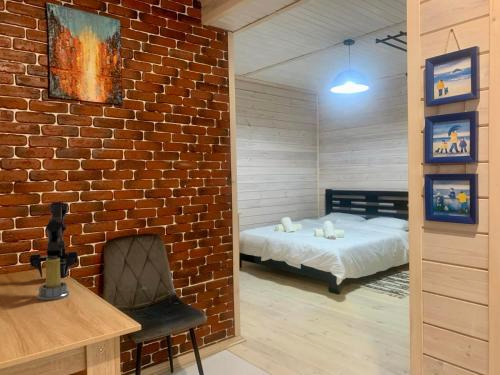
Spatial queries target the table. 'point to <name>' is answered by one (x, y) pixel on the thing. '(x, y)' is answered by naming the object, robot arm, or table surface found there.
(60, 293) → the collar
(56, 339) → the table surface
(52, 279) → the vase
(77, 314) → the table surface
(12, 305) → the table surface
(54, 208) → the robot arm
